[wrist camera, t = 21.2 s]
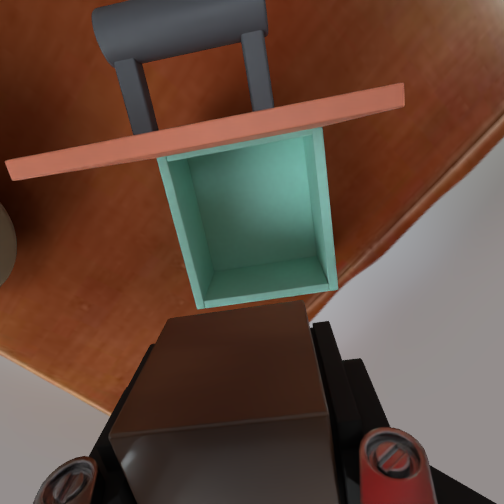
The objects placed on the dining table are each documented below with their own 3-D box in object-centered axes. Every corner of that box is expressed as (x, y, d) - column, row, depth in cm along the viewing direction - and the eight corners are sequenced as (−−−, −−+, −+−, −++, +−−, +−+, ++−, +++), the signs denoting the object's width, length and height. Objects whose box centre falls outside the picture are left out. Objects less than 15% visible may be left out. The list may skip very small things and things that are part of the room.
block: (199, 419, 12) (164, 569, 8) (167, 317, 11) (105, 436, 7) (318, 407, 12) (347, 559, 8) (303, 298, 10) (329, 413, 6)
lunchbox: (323, 258, 32) (338, 289, 26) (209, 275, 33) (197, 309, 27) (308, 123, 28) (321, 121, 21) (178, 148, 29) (154, 153, 22)
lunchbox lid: (405, 106, 9) (399, -106, 7) (11, 181, 10) (-58, 9, 8) (323, 126, 21) (315, 49, 20) (154, 158, 22) (136, 87, 21)
